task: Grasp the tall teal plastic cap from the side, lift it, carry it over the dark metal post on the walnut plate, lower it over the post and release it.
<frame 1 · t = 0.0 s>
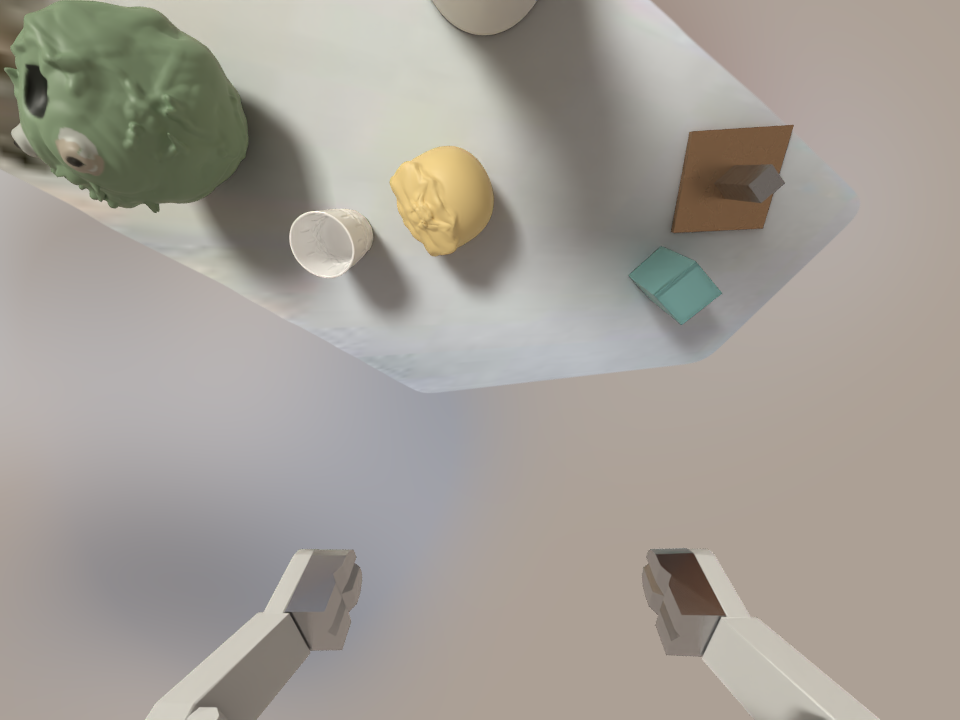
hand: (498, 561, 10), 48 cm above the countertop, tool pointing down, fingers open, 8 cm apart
cap: (656, 274, 54), on the countertop
post: (726, 182, 48), on the countertop
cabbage: (215, 127, 47), on the countertop
sculpture: (450, 197, 50), on the countertop
white cup: (351, 233, 53), on the countertop
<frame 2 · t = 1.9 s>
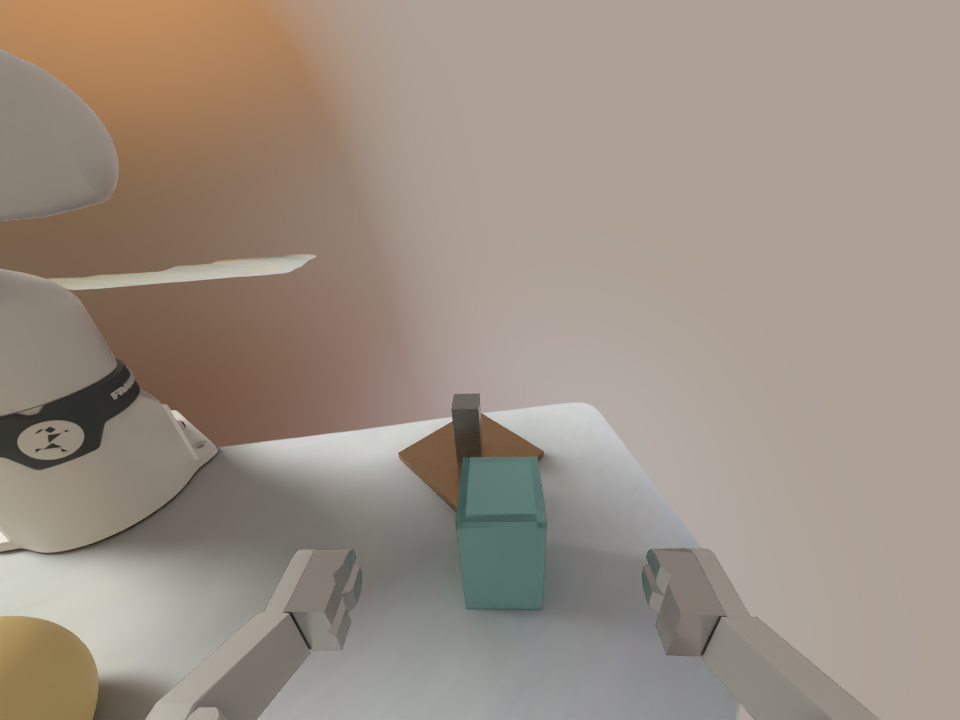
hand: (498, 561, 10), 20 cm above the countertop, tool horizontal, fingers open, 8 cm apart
cap: (503, 571, 30), on the countertop
post: (470, 457, 42), on the countertop
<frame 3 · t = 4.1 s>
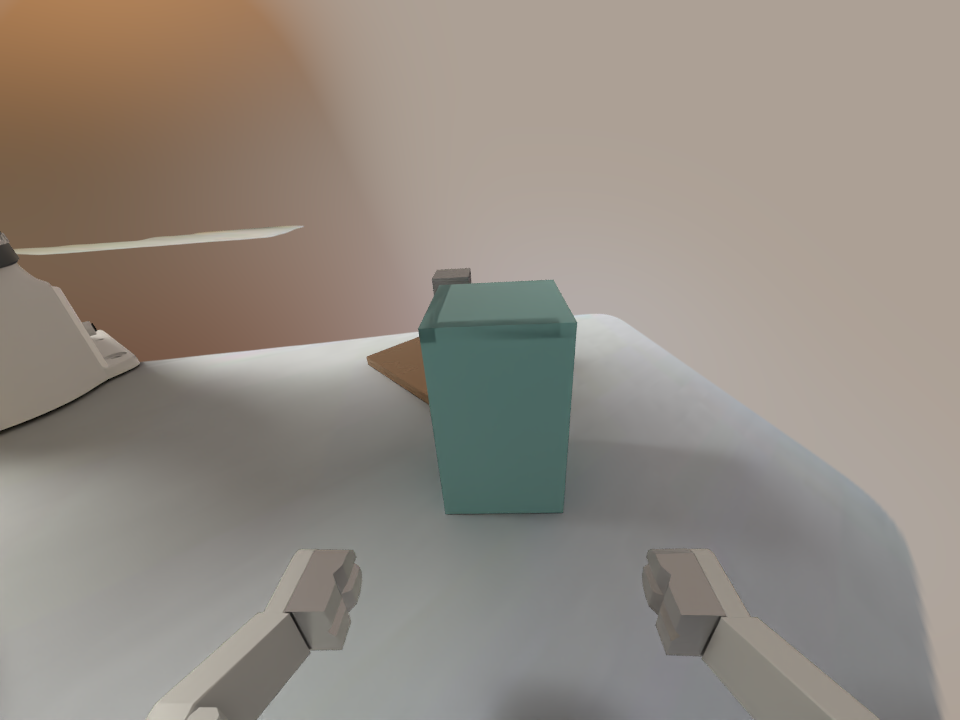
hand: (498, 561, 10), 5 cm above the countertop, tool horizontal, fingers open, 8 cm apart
cap: (502, 470, 20), on the countertop
post: (460, 361, 32), on the countertop
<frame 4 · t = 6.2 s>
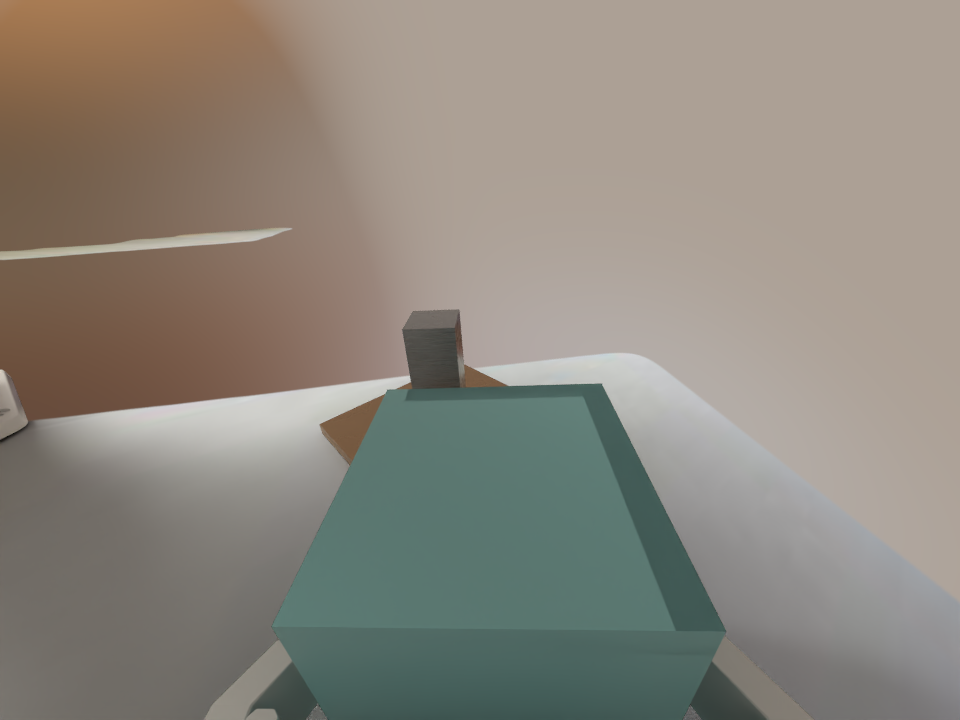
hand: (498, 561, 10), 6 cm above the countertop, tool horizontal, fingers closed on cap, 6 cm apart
cap: (504, 691, 12), on the countertop, touching gripper
post: (446, 431, 24), on the countertop
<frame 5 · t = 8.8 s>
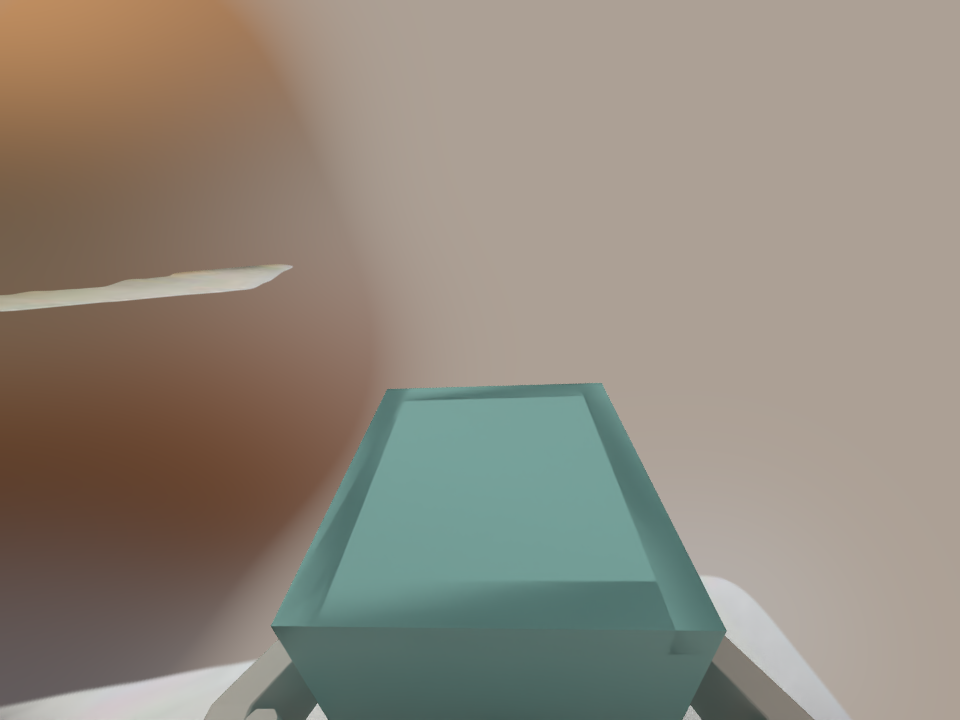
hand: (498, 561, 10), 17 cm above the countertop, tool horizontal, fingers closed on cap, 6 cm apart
cap: (504, 690, 12), point 11 cm above the countertop, touching gripper
when the fingers open (7 cm above the countertop, at t = 11.6 s): cap stays where it is, resting on post.
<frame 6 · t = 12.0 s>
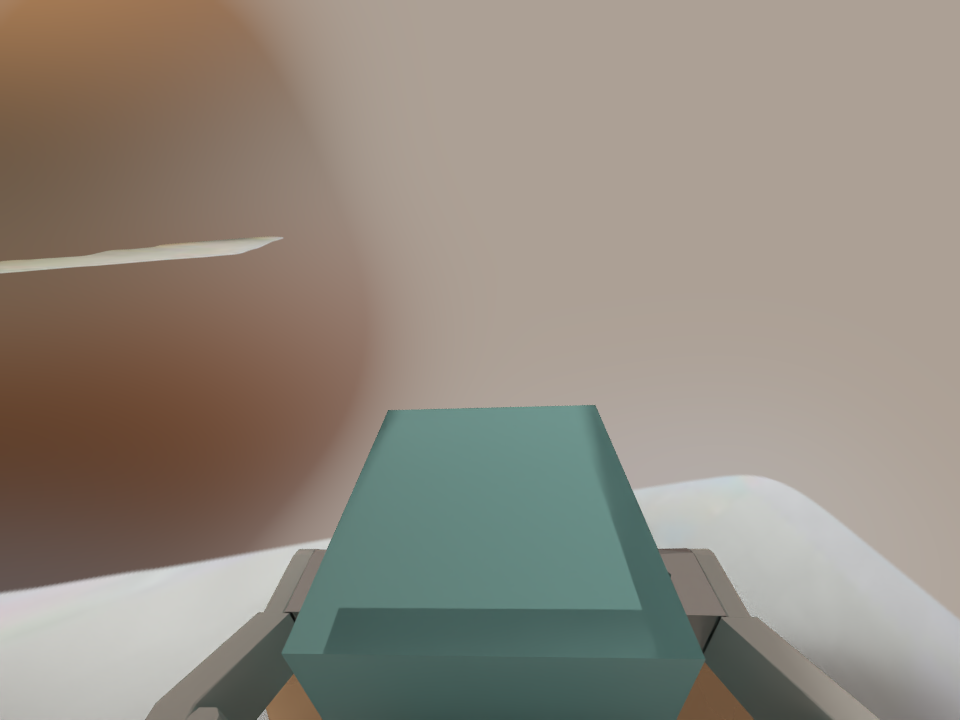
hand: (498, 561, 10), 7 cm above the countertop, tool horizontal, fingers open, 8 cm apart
cap: (501, 700, 12), point 1 cm above the countertop, touching post
post: (504, 710, 12), on the countertop
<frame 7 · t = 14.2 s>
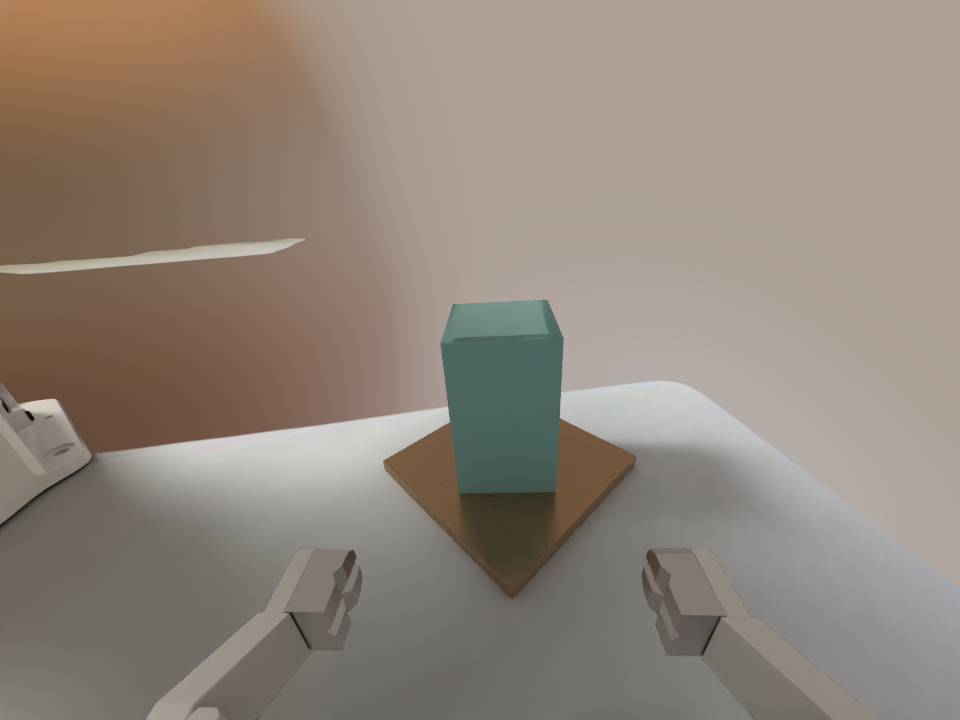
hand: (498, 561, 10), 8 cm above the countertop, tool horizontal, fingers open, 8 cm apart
cap: (505, 458, 24), point 1 cm above the countertop, touching post
post: (507, 467, 24), on the countertop
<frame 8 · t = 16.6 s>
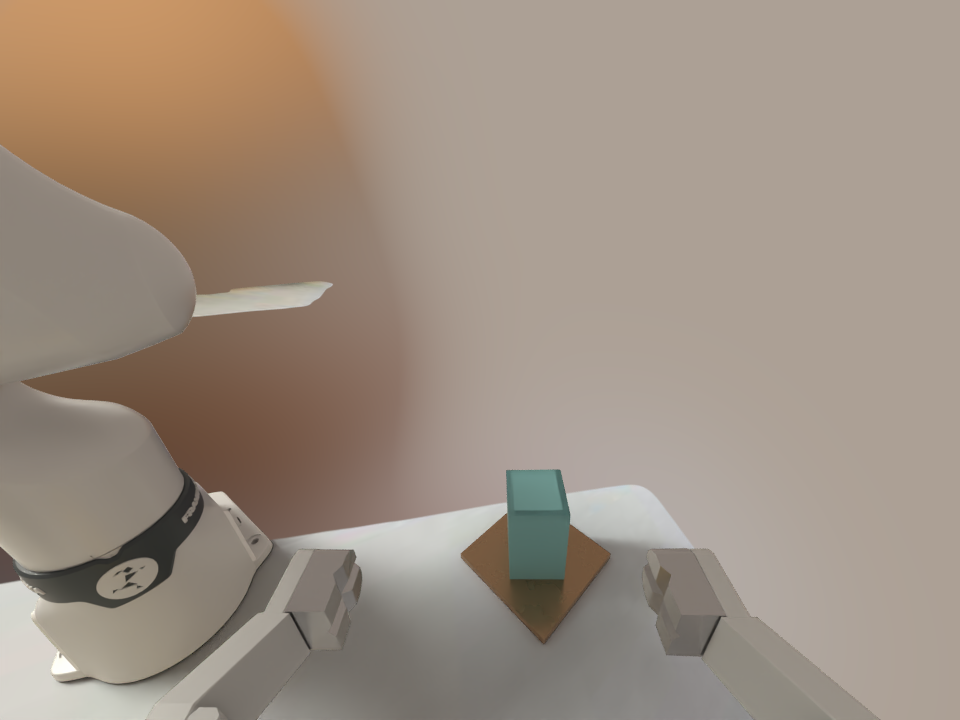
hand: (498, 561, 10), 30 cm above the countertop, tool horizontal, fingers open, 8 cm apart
cap: (534, 553, 41), point 1 cm above the countertop, touching post
post: (534, 558, 41), on the countertop
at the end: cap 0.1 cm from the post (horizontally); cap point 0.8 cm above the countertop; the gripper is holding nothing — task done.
